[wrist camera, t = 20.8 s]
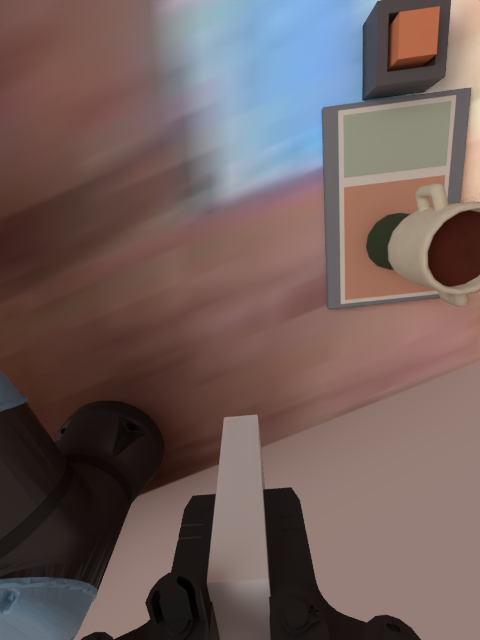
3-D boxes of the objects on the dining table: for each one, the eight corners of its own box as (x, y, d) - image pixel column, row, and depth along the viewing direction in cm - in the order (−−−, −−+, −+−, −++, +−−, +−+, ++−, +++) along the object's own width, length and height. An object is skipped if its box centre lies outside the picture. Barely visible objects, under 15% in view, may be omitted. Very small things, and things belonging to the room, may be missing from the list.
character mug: (431, 272, 37) (527, 297, 24) (374, 294, 38) (438, 330, 25) (409, 181, 34) (506, 157, 21) (347, 208, 35) (405, 200, 22)
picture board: (327, 307, 39) (329, 309, 38) (321, 110, 32) (323, 106, 32) (446, 294, 38) (451, 296, 37) (465, 90, 32) (472, 86, 31)
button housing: (362, 100, 32) (376, 85, 29) (363, 25, 30) (377, 0, 27) (424, 91, 32) (445, 76, 29) (428, 15, 30) (451, -10, 27)
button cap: (383, 74, 30) (398, 59, 27) (384, 32, 29) (399, 11, 26) (418, 69, 30) (436, 53, 27) (420, 27, 29) (440, 6, 26)
